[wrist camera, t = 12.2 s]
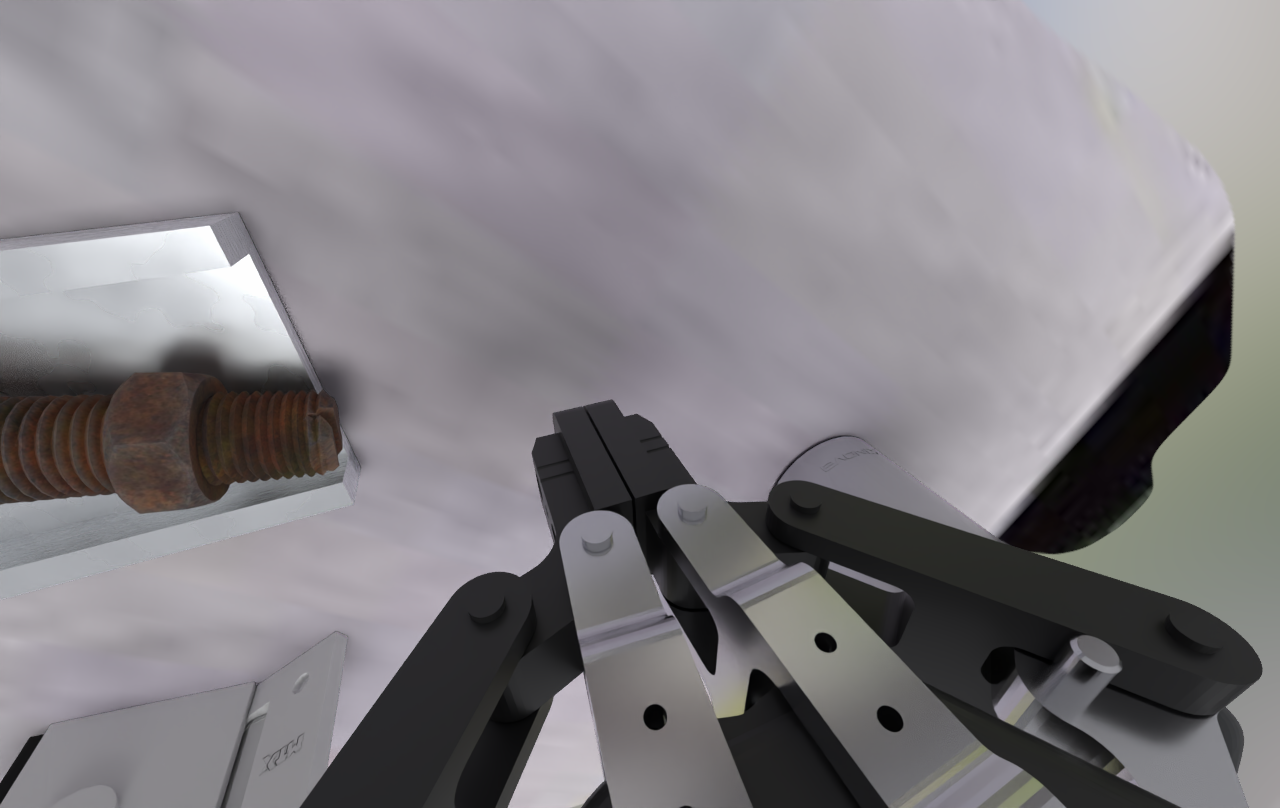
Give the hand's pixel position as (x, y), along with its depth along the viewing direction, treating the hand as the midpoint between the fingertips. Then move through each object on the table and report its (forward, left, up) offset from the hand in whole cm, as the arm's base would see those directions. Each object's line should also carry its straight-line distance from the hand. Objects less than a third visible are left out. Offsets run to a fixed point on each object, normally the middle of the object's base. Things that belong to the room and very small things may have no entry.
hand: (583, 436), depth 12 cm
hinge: (-18, +19, -11) cm, 29 cm away
